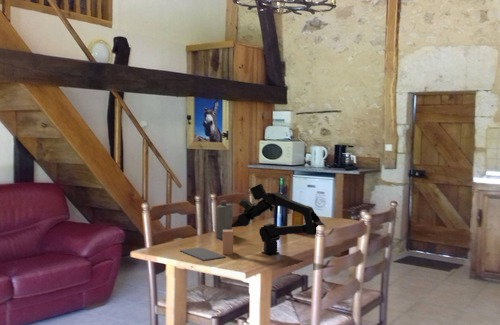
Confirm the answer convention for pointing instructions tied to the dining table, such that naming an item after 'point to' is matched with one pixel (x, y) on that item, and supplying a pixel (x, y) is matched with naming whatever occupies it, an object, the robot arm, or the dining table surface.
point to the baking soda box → (297, 219)
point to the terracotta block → (227, 241)
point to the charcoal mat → (202, 253)
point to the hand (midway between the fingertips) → (234, 223)
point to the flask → (223, 218)
